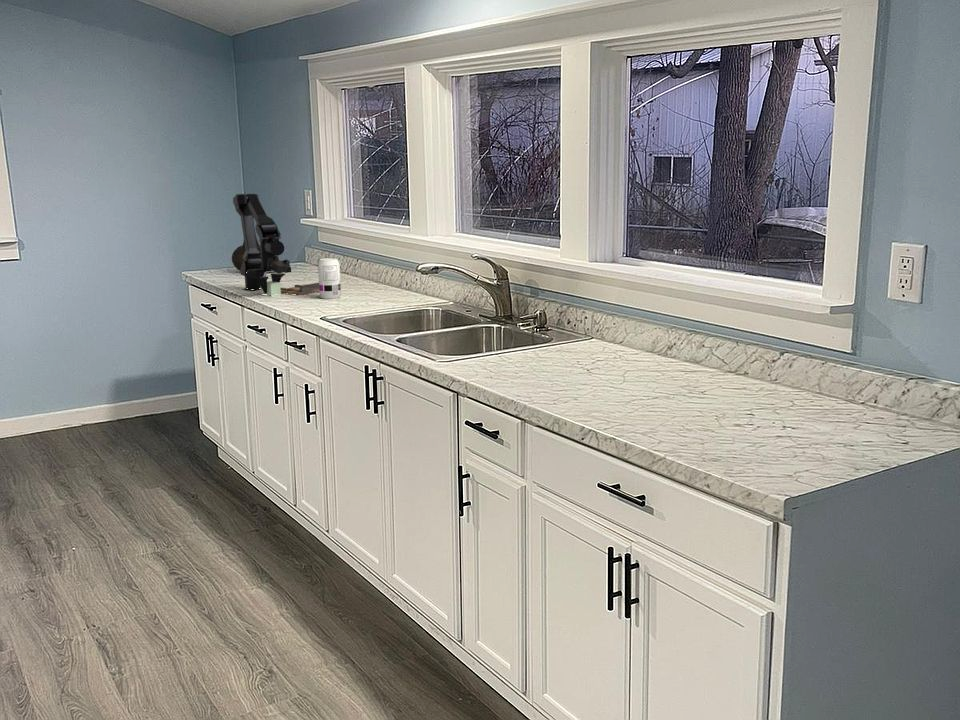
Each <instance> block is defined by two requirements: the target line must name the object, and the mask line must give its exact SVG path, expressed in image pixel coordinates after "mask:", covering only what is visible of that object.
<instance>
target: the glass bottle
mask: <svg viewBox="0 0 960 720" xmlns="http://www.w3.org/2000/svg"><path fill="white" fill-rule="evenodd" d="M252 217H253V215H252ZM253 219H254V217H253ZM253 224H254V225H255V222H254V220H253ZM254 231H255V237H256V244H257V250H258V251H259V252H260V253H261V249H260V242H259V240H258V238H257V232H256V227H254ZM245 252H246V250H245V243H244V241H243V243H242V245H240V246H237V248H236V249H234V251H233V252H232V254H231V262H232V264H233V266H234V268H236V270H238V271H239V270H240V269H241V266H242V262H243V256H244V254H245Z"/></svg>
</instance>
